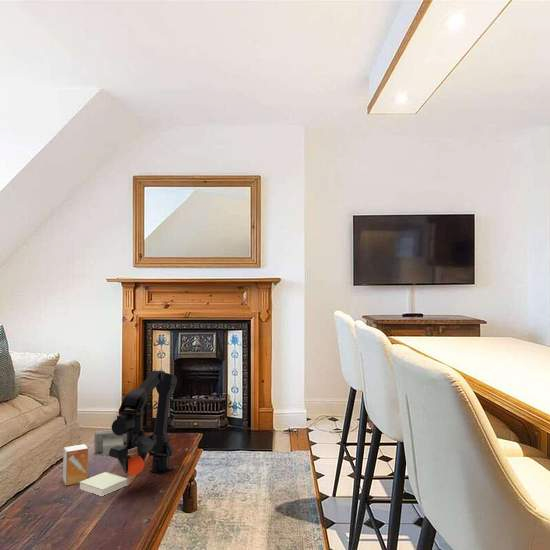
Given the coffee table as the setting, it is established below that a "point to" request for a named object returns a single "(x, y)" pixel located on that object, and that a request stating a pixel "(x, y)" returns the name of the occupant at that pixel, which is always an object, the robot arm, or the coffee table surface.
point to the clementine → (135, 464)
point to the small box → (75, 464)
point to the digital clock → (108, 441)
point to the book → (104, 483)
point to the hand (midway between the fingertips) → (133, 469)
